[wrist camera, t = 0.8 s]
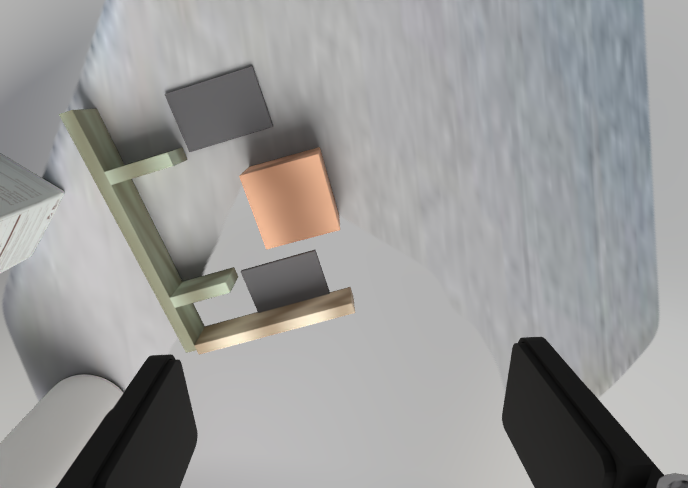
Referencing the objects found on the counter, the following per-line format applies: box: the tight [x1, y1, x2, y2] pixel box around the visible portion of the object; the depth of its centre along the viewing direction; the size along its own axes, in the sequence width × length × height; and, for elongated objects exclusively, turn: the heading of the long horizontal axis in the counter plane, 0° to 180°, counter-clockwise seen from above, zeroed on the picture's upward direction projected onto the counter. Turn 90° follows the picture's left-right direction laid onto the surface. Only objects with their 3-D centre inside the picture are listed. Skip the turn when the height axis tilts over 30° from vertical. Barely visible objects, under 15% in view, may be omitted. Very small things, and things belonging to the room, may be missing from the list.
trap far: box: [241, 250, 330, 313], centre depth 35 cm, size 7×4×1 cm, turn 106°
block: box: [239, 147, 340, 249], centre depth 31 cm, size 6×6×4 cm
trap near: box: [165, 66, 273, 152], centre depth 30 cm, size 7×4×1 cm, turn 106°
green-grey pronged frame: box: [59, 109, 355, 354], centre depth 32 cm, size 16×22×3 cm
